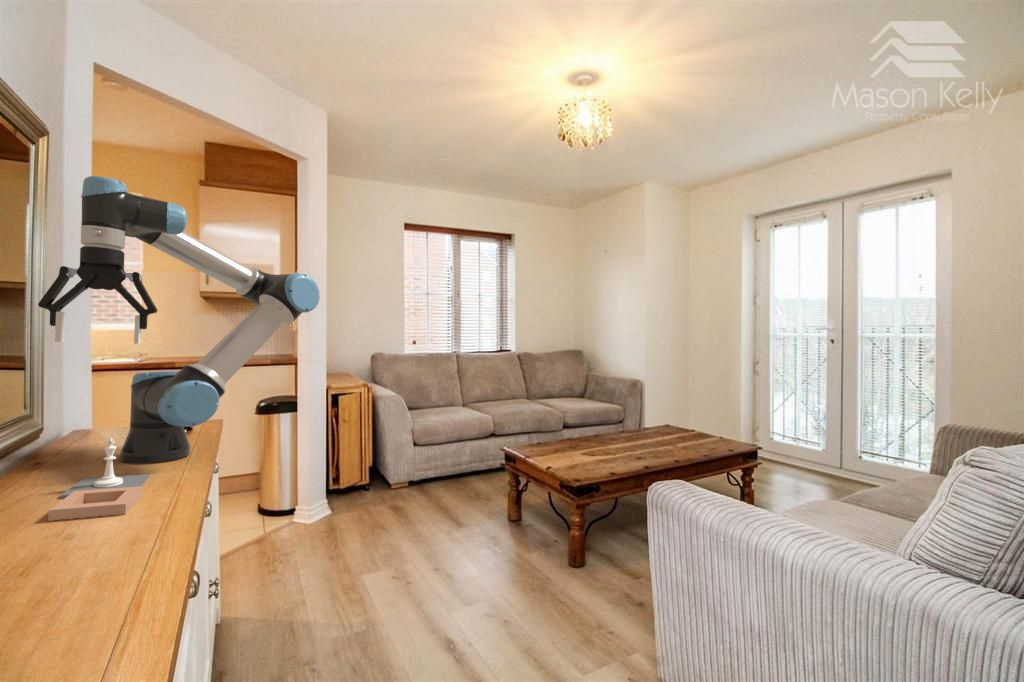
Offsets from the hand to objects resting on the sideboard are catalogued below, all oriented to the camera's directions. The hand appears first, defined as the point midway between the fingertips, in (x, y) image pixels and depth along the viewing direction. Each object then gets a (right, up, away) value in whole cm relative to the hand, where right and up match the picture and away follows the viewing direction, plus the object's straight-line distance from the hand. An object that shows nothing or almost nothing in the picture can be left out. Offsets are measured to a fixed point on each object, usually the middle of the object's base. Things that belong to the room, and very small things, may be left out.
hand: (99, 342), depth 106 cm
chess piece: (+5, -31, -3) cm, 32 cm away
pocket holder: (+13, -32, -15) cm, 37 cm away
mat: (+5, -32, -3) cm, 32 cm away
